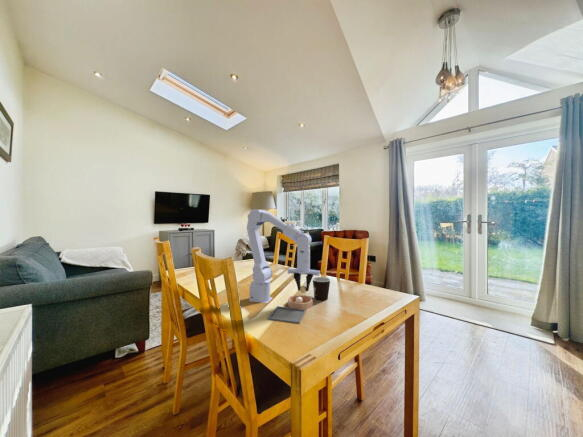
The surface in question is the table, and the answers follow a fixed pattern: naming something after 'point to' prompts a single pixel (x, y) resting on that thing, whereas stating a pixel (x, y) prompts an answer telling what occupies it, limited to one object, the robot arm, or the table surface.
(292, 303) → the bowl
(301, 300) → the white ball
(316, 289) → the coffee mug
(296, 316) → the parts tray
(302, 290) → the tan ball
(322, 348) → the table surface
